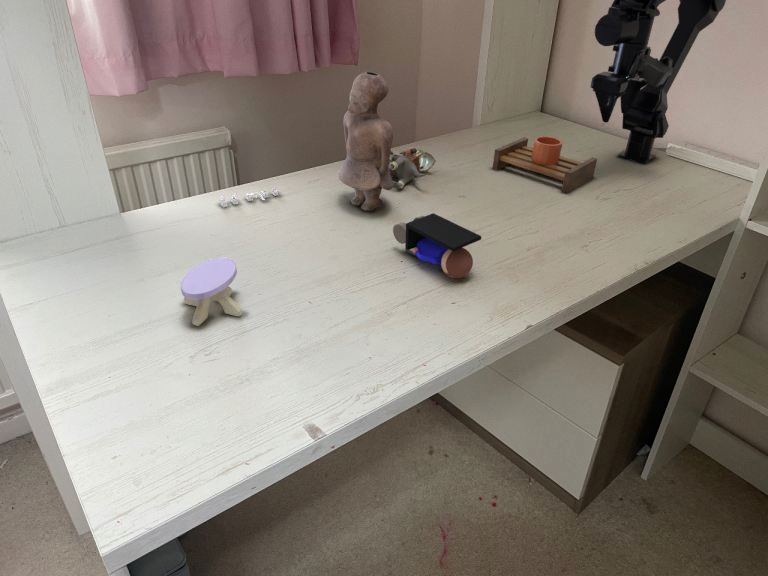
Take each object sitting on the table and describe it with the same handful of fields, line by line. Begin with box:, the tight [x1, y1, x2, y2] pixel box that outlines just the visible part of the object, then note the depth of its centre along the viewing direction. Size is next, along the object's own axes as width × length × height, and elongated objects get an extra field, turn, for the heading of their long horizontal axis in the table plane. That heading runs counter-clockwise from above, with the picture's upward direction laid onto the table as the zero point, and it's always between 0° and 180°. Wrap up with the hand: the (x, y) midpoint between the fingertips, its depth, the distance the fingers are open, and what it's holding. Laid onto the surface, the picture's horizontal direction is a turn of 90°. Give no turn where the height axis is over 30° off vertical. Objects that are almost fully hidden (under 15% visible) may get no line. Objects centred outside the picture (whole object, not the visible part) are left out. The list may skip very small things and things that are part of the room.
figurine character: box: [392, 212, 482, 279], centre depth 99 cm, size 7×8×15 cm
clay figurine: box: [337, 71, 394, 212], centre depth 112 cm, size 13×10×25 cm
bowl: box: [532, 135, 564, 165], centre depth 133 cm, size 6×6×4 cm
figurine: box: [388, 147, 437, 190], centre depth 131 cm, size 20×6×17 cm
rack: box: [491, 137, 598, 194], centre depth 134 cm, size 12×18×4 cm, turn 48°
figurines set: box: [219, 188, 279, 208], centre depth 118 cm, size 12×3×3 cm, turn 122°
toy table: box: [180, 256, 243, 327], centre depth 86 cm, size 10×9×6 cm
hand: (614, 117), depth 132 cm, fingers open, 9 cm apart
